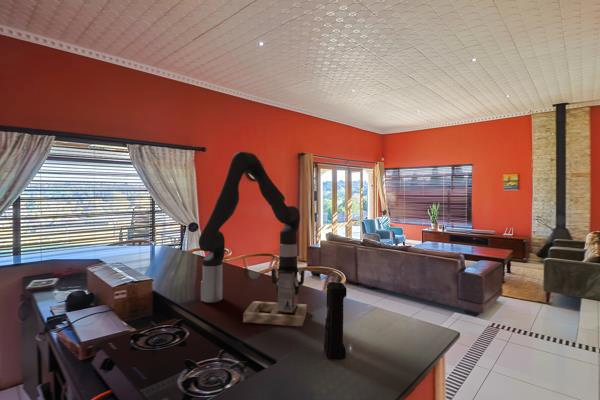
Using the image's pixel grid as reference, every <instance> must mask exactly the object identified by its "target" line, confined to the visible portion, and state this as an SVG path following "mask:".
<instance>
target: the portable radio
mask: <svg viewBox="0 0 600 400" xmlns="http://www.w3.org/2000/svg"><path fill="white" fill-rule="evenodd" d="M345 298H347V287H346V286H345V284H344V283H343V282H342V279H339V280H338V281H330V282H329V281H328V282H327V284H326V318H325V325H324V327H325V328H324V341H323V349H324V352H325V353H324V354H325V356H326V358H327V359H328V360H329V359H335V360H343V358H344V359H346V358H347V357H346V356H347V353H346V351H347V349H346V347H345V345H344V300H345Z"/></svg>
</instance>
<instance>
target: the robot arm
mask: <svg viewBox="0 0 600 400" xmlns="http://www.w3.org/2000/svg"><path fill="white" fill-rule="evenodd" d="M227 171H228V172H227V174H226V177H225V180H224V183H223V185H222V187H221V190H220V193H219V195H218V197H217V199H216V202H215V203H214V204H215V205H214V207H213V210H212V211H211V214H210V217H209V219H208V220H207V223H206V224H205V226H204V228H203V230H202V232H201V234H200V236H199V239H198V247H199V249H200V250H201V251H202V252H208V254H207V255H206V256H205V257H204V258H203V259H202V280H201V281H200V301H201V302H203V303H209V304H210V303H211V304H212V303H218V302H220V301H222V300H223V261H224V258H225V245H226V243H225V242H226V241H225V236H224V234H223V232H222V231H220V229H221V228H222V226H224V224H225V223H226V222H227V221H229V219H230V218H231V217H232V216H233V214H234V213H235V211H236V210H237V209H236V208H237V206H238V204H239V201H240V191H239V187H240V182H241V180H242V177H244V174H249V175H251V177H253V178H254V179H255V182H257V184H258V188H259V192H260V194H261V196H262V197H263V198H264V199H265V201H266V202H267V204H268V205H269V206H270V207H271V210H272V212H273V214H274V216H275V218H276V219H277V221H278V222H280V223H281V224H283V225H284V226H283V228H282V229H281V230H280V232H279V249H278V255H279V256H278V268H276V267H273V268H272V269H271V283H272V284H275V285H276V293H277V294H278V279H277V274H278V272H279V271H280V270H292V271H295V275H296V274H297V275H299V276H300V279H298V276H297V277H296V278H295V285H296V286H295V295H297V296H298V294H299V292H300V286H303V285H304V282H305V273H306V272H305V269H299V267H298V243H297V242H298V241H297V239H298V238H297V237H298V236H297V233H298V229H299V226H300V220H301V213H300V211H299V209H298V207H296V206H295V205H287V204H286V203H285V200H286V197H285V196H284V194H283V193H282V192H281V190H279V188H278V187H277V186H276V184H274V182H273V181H272V179H271V178H270V176H269V175H268V173H267V171H266V169H264V167H263V165H262V163H261V161H260V160H259V158H258V156H256V154H254V153H252V152H247V151H237V152H236V153H234V155H233V156H232V159H231V161H230V165H229V168H228V170H227Z"/></svg>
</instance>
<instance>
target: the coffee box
mask: <svg viewBox="0 0 600 400" xmlns="http://www.w3.org/2000/svg"><path fill="white" fill-rule="evenodd" d="M296 277H297V278H298V273H297V274H296V275H295V271H292V270H280V271H279V272H278V271H277V280H278V293H277V303H278V311H285V312H293V310H294V309H295V307H296V305H297V304H298V294H297V295H295V286H296V285H295V278H296Z"/></svg>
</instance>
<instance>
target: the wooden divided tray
mask: <svg viewBox="0 0 600 400" xmlns="http://www.w3.org/2000/svg"><path fill="white" fill-rule="evenodd" d="M307 306H308V304H304V303H303V304H302V303H297V305H296V307H295V309H294V310H293V312H285V311H278V302H273V301H260V300H259V301H256V300H254V301H252V302H251V303H250V305H249V306H248V307H247V308H246V309H245V310H244V312H243V314H242V322H243V323H251V324H253V323H254V324H266V325H277V326H279V325H281V326H291V327H292V326H294V327H303V325H304V321H305V319H306V316H307V308H308V307H307ZM267 312H268V313H267ZM269 312H270V313H269ZM286 313H287V314H286Z"/></svg>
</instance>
